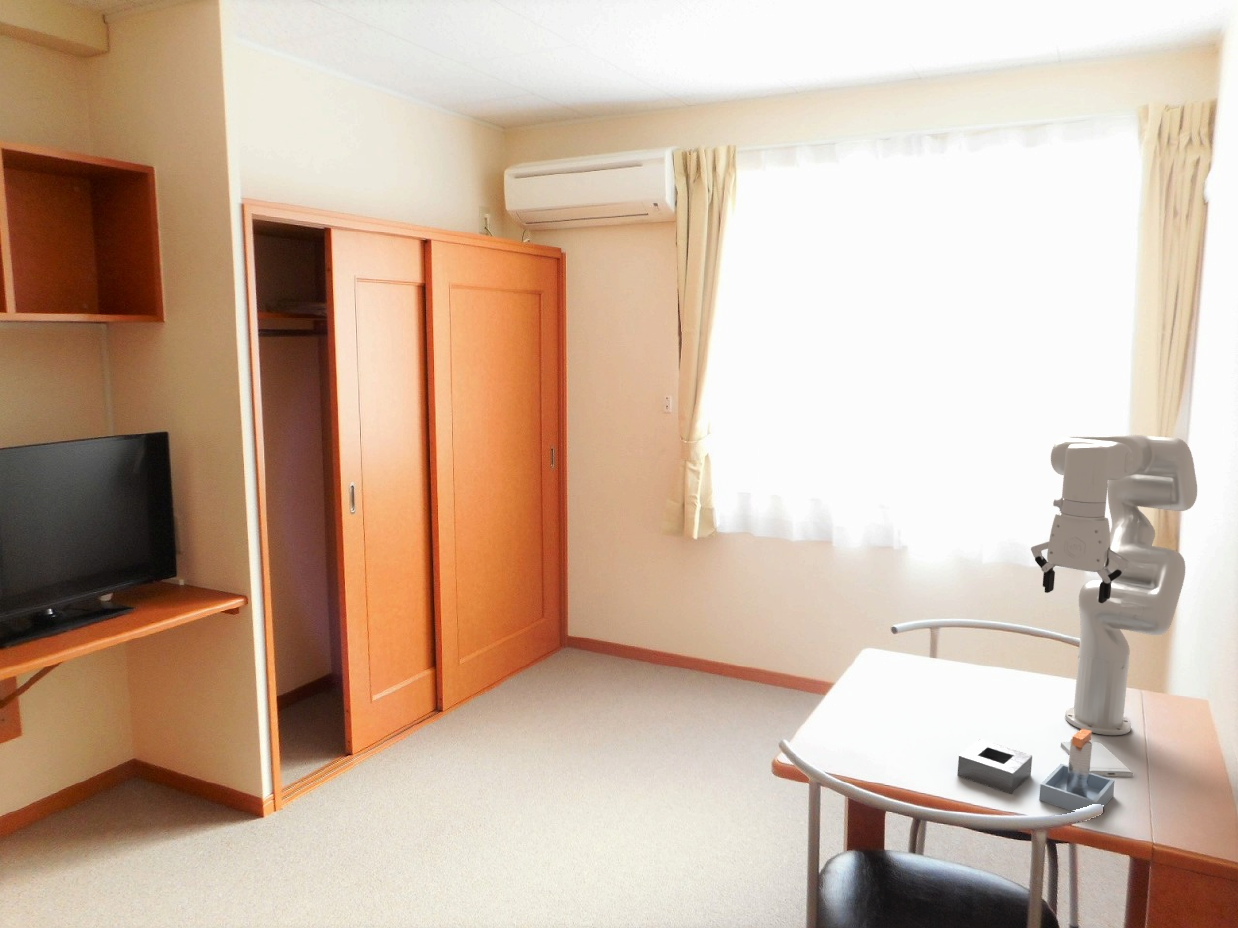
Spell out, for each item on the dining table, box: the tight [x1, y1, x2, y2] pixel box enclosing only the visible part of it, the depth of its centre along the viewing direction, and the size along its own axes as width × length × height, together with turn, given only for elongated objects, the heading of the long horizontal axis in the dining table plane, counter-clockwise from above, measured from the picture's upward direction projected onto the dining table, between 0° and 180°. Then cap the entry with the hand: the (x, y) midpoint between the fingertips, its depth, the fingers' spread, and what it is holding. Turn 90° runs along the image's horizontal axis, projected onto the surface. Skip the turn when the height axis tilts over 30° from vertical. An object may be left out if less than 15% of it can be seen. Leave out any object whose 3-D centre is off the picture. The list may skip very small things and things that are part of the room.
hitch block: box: [957, 738, 1033, 795], centre depth 172 cm, size 10×10×4 cm
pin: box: [1066, 728, 1093, 798], centre depth 163 cm, size 3×5×12 cm
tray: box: [1038, 763, 1115, 812], centre depth 164 cm, size 11×9×3 cm
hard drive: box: [1060, 741, 1134, 778], centre depth 179 cm, size 2×8×12 cm
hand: (1075, 596), depth 174 cm, fingers open, 9 cm apart
